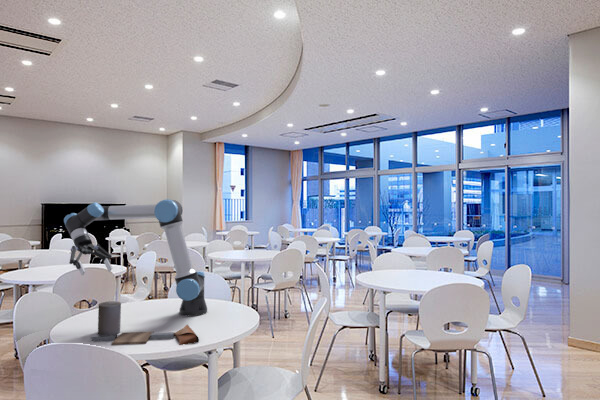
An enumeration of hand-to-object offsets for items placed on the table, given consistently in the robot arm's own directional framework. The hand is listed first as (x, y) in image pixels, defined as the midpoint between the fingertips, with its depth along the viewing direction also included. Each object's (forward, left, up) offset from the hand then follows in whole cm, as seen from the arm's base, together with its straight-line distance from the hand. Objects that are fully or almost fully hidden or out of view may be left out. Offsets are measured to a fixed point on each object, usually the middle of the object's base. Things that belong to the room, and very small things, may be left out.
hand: (97, 271), depth 196 cm
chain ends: (-22, +18, -28) cm, 40 cm away
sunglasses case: (-45, +19, -28) cm, 56 cm away
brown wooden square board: (-22, +18, -28) cm, 40 cm away
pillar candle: (-8, +7, -28) cm, 30 cm away
